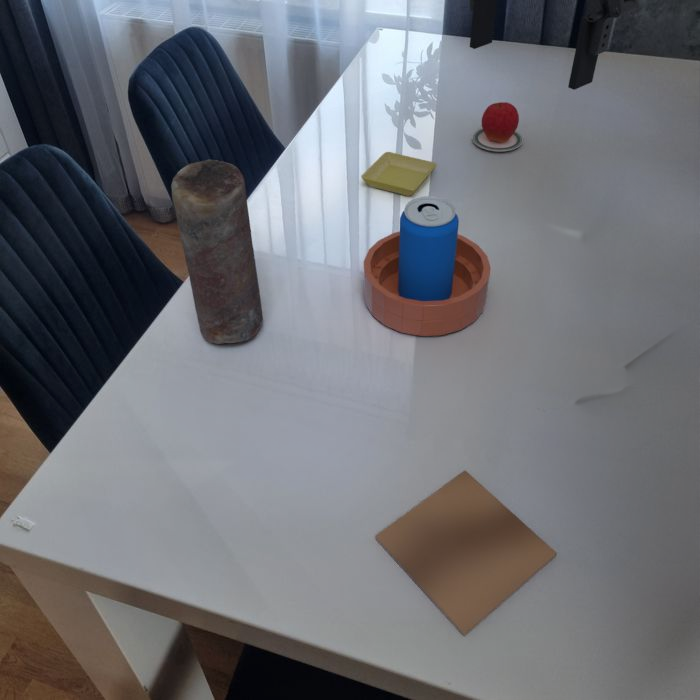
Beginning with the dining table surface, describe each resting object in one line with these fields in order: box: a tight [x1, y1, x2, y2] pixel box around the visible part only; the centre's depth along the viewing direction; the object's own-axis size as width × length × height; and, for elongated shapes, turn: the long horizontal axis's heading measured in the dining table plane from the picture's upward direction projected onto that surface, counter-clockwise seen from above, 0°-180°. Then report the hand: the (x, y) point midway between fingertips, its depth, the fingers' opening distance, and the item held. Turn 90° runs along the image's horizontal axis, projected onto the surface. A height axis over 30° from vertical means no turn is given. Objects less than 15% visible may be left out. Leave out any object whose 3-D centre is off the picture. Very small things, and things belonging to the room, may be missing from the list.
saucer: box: [360, 151, 438, 197], centre depth 101 cm, size 9×9×2 cm
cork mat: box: [375, 470, 558, 637], centre depth 59 cm, size 11×11×1 cm
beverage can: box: [398, 195, 460, 301], centre depth 78 cm, size 6×6×12 cm
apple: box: [471, 101, 524, 153], centre depth 107 cm, size 8×8×6 cm
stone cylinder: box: [170, 158, 264, 345], centre depth 73 cm, size 8×7×20 cm
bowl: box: [363, 231, 491, 337], centre depth 81 cm, size 15×15×5 cm
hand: (527, 64), depth 71 cm, fingers open, 13 cm apart
